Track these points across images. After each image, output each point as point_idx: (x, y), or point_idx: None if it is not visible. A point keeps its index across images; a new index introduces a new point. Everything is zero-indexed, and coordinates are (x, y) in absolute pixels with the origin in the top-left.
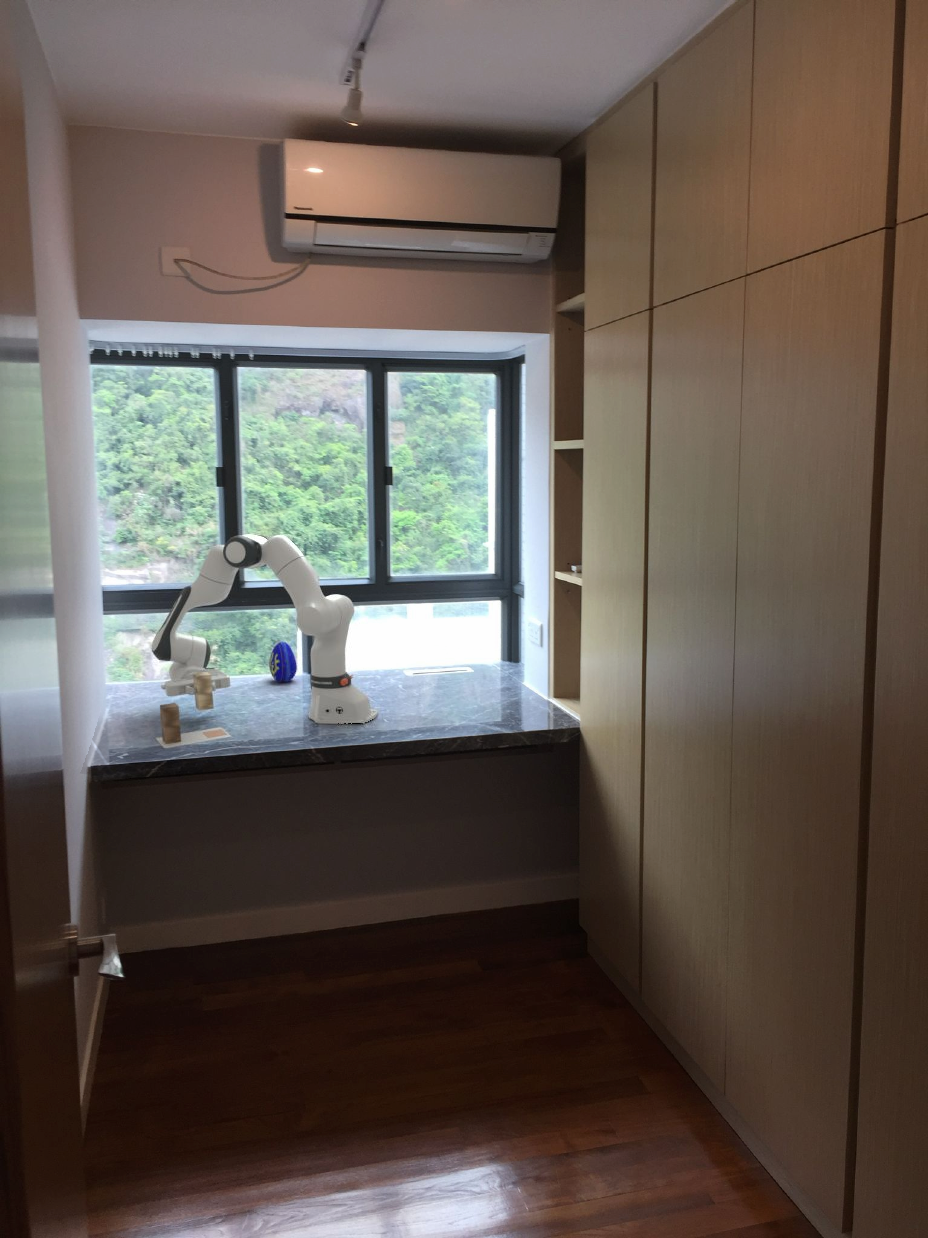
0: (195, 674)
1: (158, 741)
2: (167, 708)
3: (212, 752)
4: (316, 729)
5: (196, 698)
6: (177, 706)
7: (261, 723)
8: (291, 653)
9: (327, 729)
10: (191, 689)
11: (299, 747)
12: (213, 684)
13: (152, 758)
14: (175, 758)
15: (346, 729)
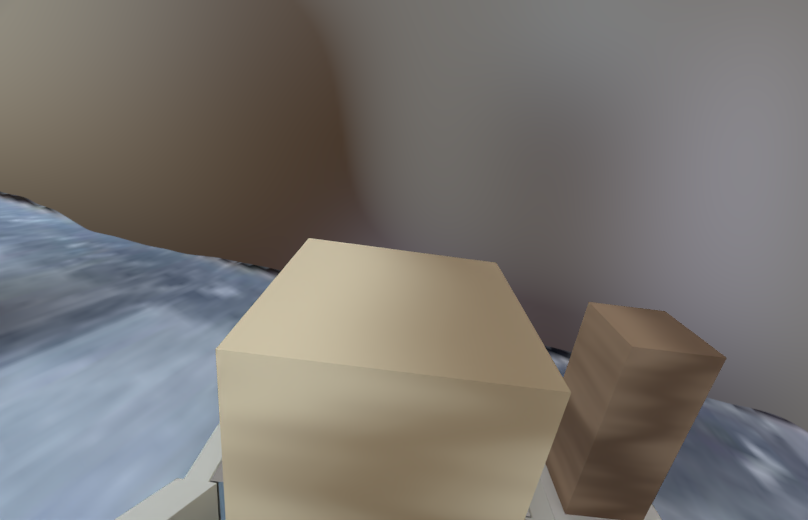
0: (513, 328)
1: (660, 518)
2: (644, 310)
3: None
4: (59, 319)
5: None
6: (594, 303)
7: (41, 504)
8: None
9: (45, 305)
10: (537, 489)
11: (246, 274)
12: (198, 465)
13: None
14: None
15: (23, 284)
